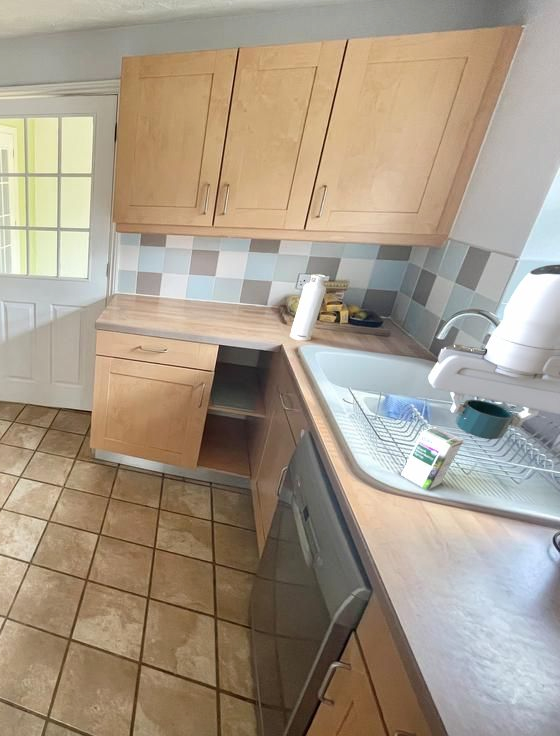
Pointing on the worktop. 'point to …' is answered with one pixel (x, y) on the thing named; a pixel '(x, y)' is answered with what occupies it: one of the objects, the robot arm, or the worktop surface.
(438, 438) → the syrup box
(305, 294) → the bottle
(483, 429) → the bowl
